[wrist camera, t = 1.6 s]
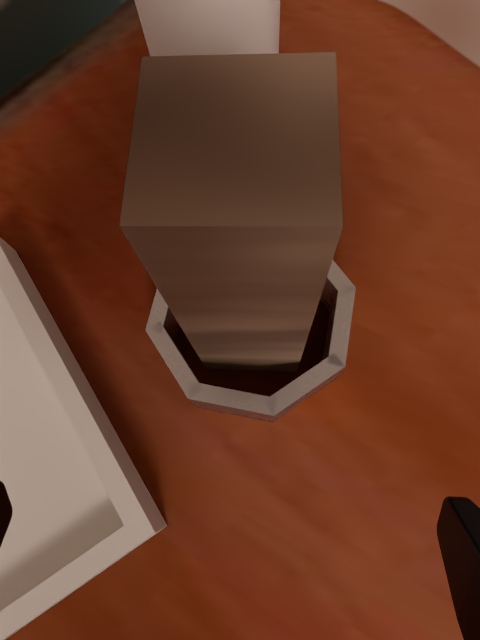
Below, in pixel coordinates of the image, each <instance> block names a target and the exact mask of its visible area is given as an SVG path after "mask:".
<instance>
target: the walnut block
mask: <svg viewBox="0 0 480 640" xmlns="http://www.w3.org/2000/svg"><path fill="white" fill-rule="evenodd" d="M119 227H120V228H121V230H122V232H123V233H124V235H125V236H126V238H127V240H128V241H129V243H130V245H131V246H132V248H133V250H134V251H135V253H136V255H137V256H138V258H139V259H140V261H141V263H142V264H143V266H144V268H145V269H146V271H147V273H148V274H149V276H150V278H151V279H152V281H153V282H154V284H155V286H156V287H157V289H158V291H159V292H160V294H161V296H162V297H163V299H164V301H165V302H166V304H167V305H168V307H169V309H170V310H171V312H172V314H173V315H174V317H175V319H176V320H177V322H178V323H179V325H180V327H181V328H182V330H183V332H184V333H185V335H186V337H187V338H188V340H189V342H190V343H191V345H192V346H193V348H194V350H195V351H196V353H197V355H198V356H199V358H200V360H201V361H202V363H203V365H204V366H205V368H206V369H207V370H252V371H296V372H297V369H298V366H299V363H300V360H301V357H302V354H303V351H304V347H305V344H306V341H307V338H308V335H309V332H310V329H311V326H312V322H313V319H314V316H315V313H316V310H317V307H318V304H319V301H320V297H321V294H322V291H323V288H324V285H325V282H326V279H327V275H328V272H329V269H330V266H331V263H332V260H333V257H334V254H335V250H336V247H337V244H338V241H339V238H340V235H341V232H342V229H343V212H342V188H341V164H340V140H339V116H338V92H337V69H336V52H320V53H275V54H230V55H185V56H142V59H141V67H140V74H139V82H138V89H137V97H136V104H135V112H134V119H133V126H132V134H131V141H130V149H129V156H128V164H127V171H126V179H125V186H124V194H123V201H122V209H121V216H120V224H119Z"/></svg>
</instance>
